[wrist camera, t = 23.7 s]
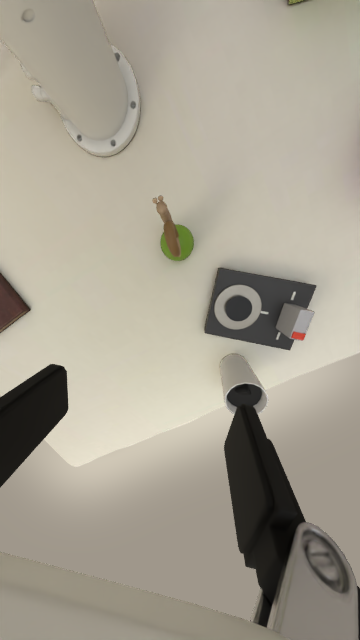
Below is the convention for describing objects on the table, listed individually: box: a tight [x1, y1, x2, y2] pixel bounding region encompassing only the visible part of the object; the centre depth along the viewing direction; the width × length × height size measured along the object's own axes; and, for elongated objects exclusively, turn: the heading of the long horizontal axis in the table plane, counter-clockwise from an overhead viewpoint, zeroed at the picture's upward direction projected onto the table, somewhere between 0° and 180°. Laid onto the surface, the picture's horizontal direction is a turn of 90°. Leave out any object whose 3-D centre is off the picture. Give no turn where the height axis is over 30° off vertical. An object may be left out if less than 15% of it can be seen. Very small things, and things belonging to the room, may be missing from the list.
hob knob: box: [276, 303, 315, 341], centre depth 27 cm, size 5×2×5 cm, turn 171°
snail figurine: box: [153, 196, 194, 261], centre depth 25 cm, size 5×6×12 cm
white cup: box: [220, 354, 268, 415], centre depth 32 cm, size 7×7×10 cm
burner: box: [214, 284, 262, 329], centre depth 30 cm, size 8×8×2 cm
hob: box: [204, 268, 316, 350], centre depth 31 cm, size 17×12×3 cm
